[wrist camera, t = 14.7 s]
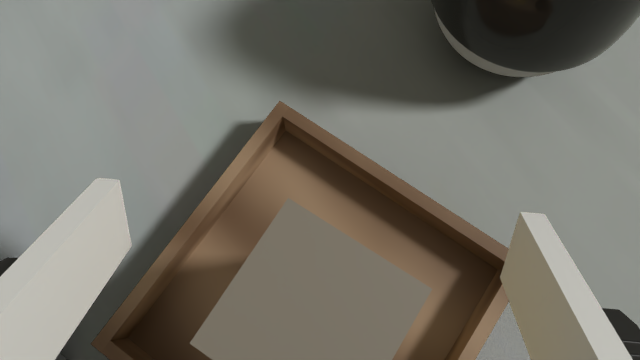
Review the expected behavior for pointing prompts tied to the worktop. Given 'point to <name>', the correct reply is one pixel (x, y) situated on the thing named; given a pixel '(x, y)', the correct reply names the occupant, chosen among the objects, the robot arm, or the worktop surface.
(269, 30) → the worktop surface
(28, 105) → the worktop surface
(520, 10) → the black egg shaped container
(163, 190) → the worktop surface
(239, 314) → the plug
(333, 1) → the worktop surface
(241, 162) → the tray
